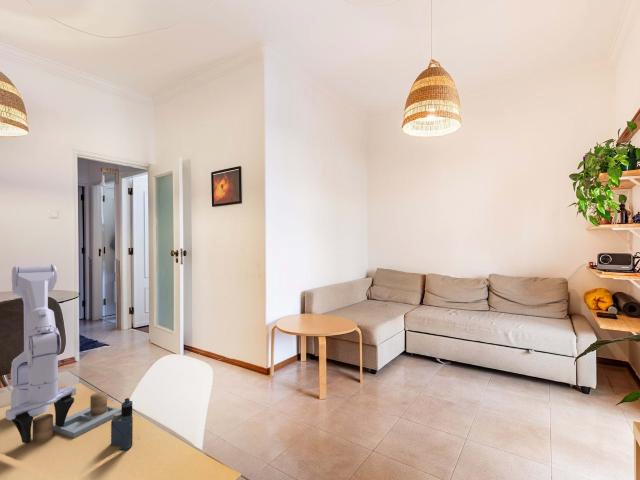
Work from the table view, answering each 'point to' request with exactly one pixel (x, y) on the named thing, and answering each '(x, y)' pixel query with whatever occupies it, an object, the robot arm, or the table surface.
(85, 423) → the grey divided tray
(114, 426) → the vaping device
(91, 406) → the sleeve seated
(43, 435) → the sleeve
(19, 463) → the table surface
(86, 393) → the table surface
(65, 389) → the robot arm
